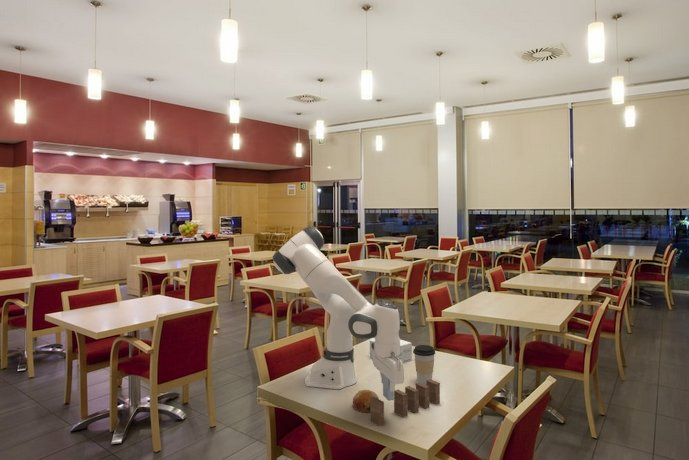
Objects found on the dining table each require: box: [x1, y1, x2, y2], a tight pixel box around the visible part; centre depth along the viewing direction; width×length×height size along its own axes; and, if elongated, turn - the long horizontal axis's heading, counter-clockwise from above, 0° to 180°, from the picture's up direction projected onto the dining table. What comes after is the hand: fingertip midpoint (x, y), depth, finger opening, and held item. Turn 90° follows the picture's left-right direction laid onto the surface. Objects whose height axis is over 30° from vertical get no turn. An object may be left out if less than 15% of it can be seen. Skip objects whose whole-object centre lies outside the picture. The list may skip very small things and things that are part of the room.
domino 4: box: [404, 385, 420, 414], centre depth 165 cm, size 2×5×8 cm, turn 35°
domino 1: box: [369, 397, 385, 427], centre depth 156 cm, size 2×5×8 cm, turn 35°
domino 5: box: [415, 382, 430, 410], centre depth 168 cm, size 2×5×8 cm, turn 35°
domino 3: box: [393, 389, 409, 418], centre depth 162 cm, size 2×5×8 cm, turn 35°
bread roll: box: [352, 389, 380, 413], centre depth 169 cm, size 10×10×8 cm
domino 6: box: [426, 379, 441, 406], centre depth 172 cm, size 2×5×8 cm, turn 35°
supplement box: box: [369, 338, 413, 364], centre depth 221 cm, size 17×13×9 cm
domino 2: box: [382, 374, 394, 402], centre depth 158 cm, size 2×5×8 cm, turn 17°
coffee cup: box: [412, 344, 436, 385], centre depth 191 cm, size 9×9×15 cm
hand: (388, 387), depth 158 cm, fingers closed on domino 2, 5 cm apart
